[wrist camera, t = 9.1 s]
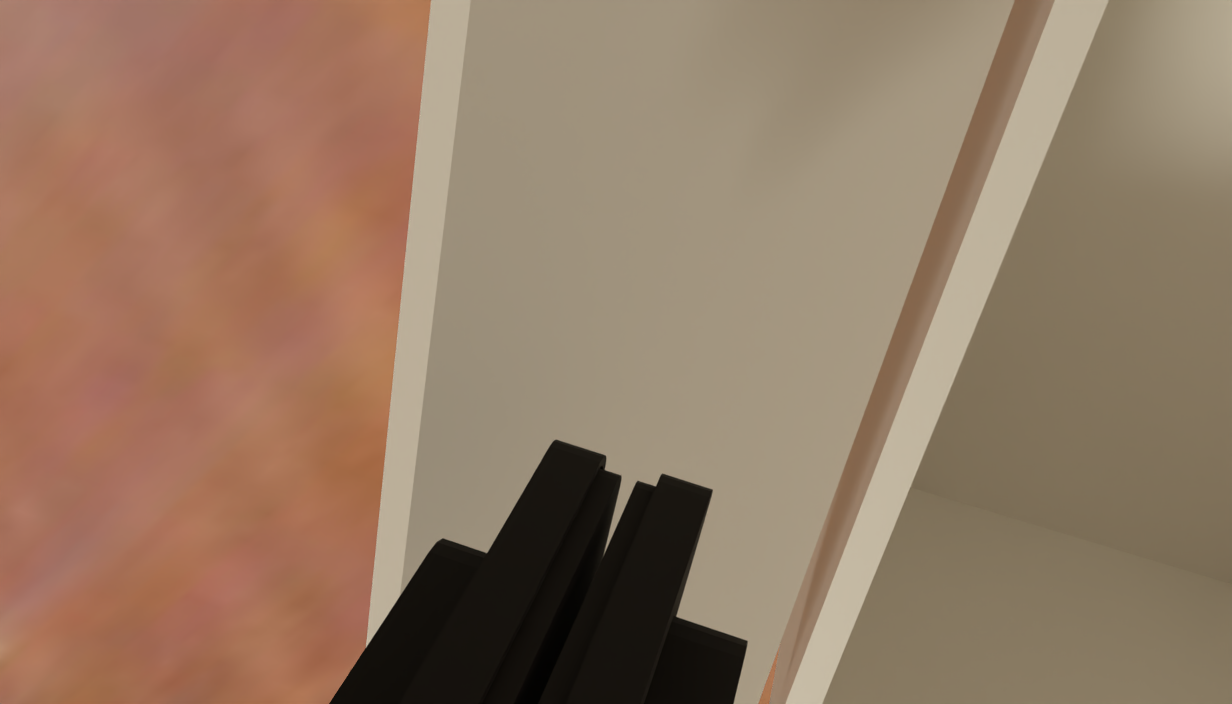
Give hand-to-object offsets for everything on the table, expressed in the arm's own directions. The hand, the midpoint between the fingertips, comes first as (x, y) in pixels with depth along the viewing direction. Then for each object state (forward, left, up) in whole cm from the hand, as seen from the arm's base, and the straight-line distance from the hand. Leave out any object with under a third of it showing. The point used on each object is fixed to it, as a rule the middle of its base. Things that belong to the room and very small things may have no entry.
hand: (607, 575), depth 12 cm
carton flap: (0, 0, -4) cm, 4 cm away
